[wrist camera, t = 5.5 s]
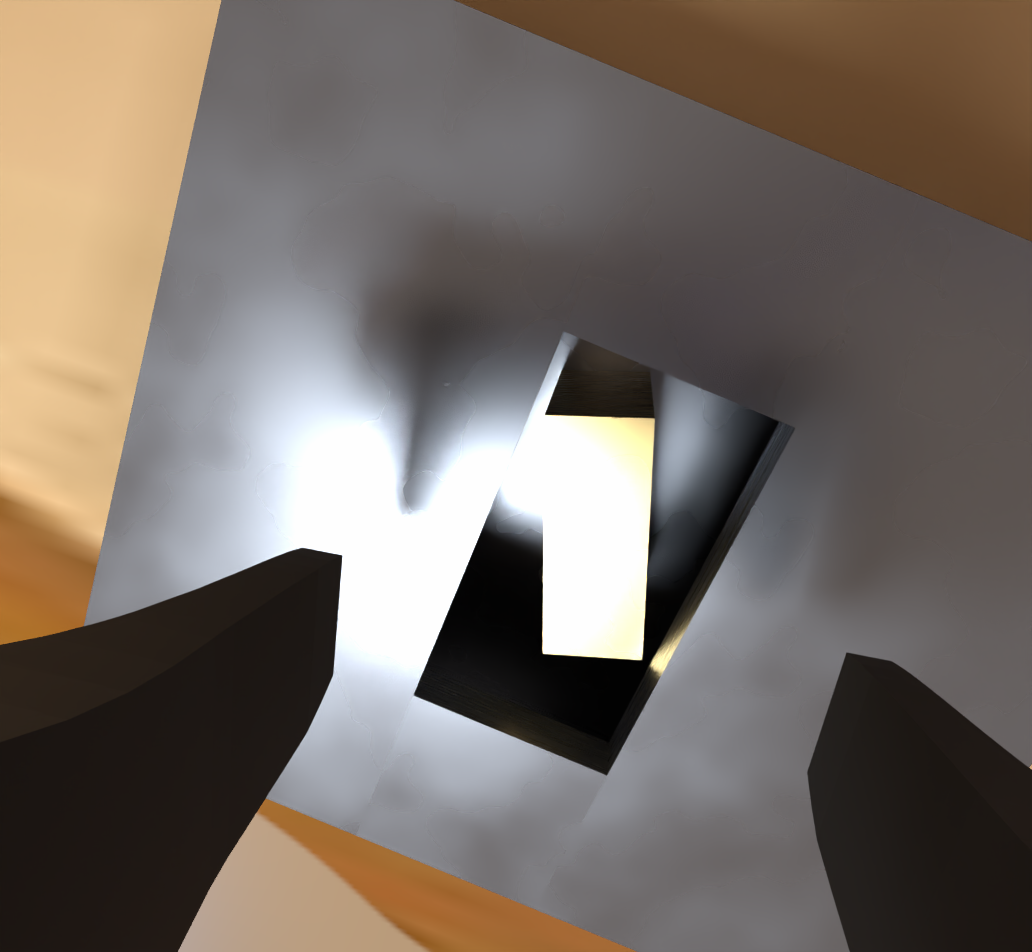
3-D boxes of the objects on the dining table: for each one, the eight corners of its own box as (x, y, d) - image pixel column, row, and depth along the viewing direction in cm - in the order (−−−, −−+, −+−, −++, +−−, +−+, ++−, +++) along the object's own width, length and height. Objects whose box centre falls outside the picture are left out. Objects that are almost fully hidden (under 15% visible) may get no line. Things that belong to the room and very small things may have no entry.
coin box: (1112, 311, 17) (1340, 370, 12) (777, 820, 23) (824, 1028, 17) (367, 0, 17) (240, -89, 12) (204, 584, 23) (64, 715, 17)
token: (650, 371, 19) (654, 418, 15) (640, 572, 20) (642, 660, 17) (561, 370, 19) (544, 414, 15) (559, 568, 21) (542, 653, 17)
